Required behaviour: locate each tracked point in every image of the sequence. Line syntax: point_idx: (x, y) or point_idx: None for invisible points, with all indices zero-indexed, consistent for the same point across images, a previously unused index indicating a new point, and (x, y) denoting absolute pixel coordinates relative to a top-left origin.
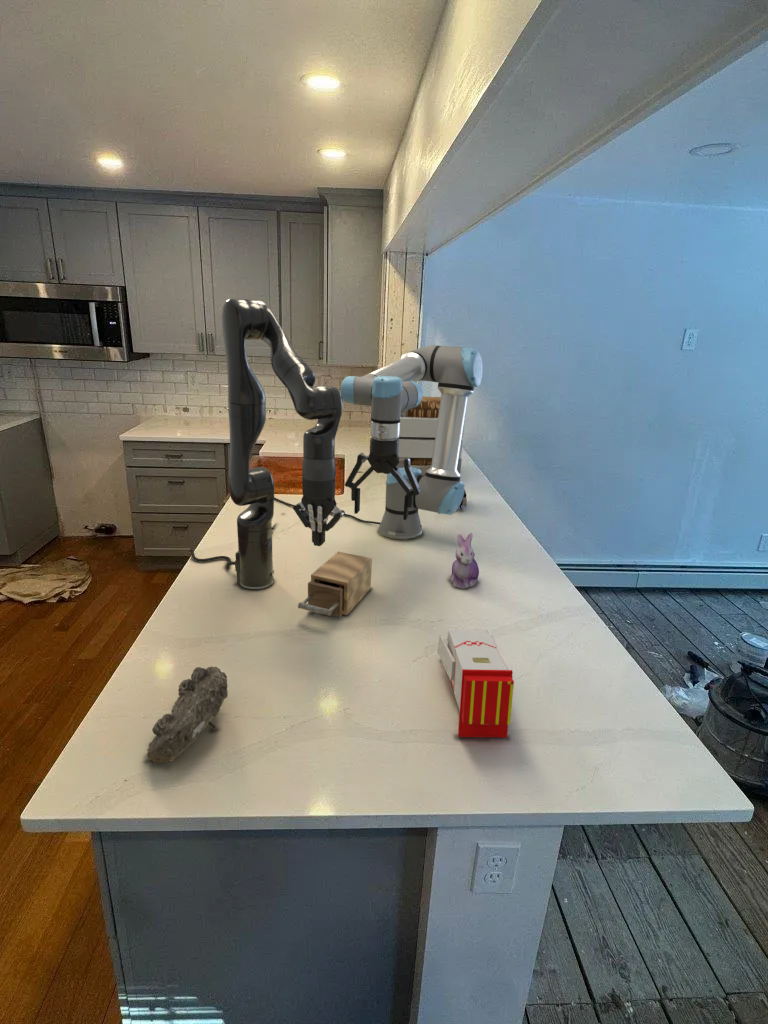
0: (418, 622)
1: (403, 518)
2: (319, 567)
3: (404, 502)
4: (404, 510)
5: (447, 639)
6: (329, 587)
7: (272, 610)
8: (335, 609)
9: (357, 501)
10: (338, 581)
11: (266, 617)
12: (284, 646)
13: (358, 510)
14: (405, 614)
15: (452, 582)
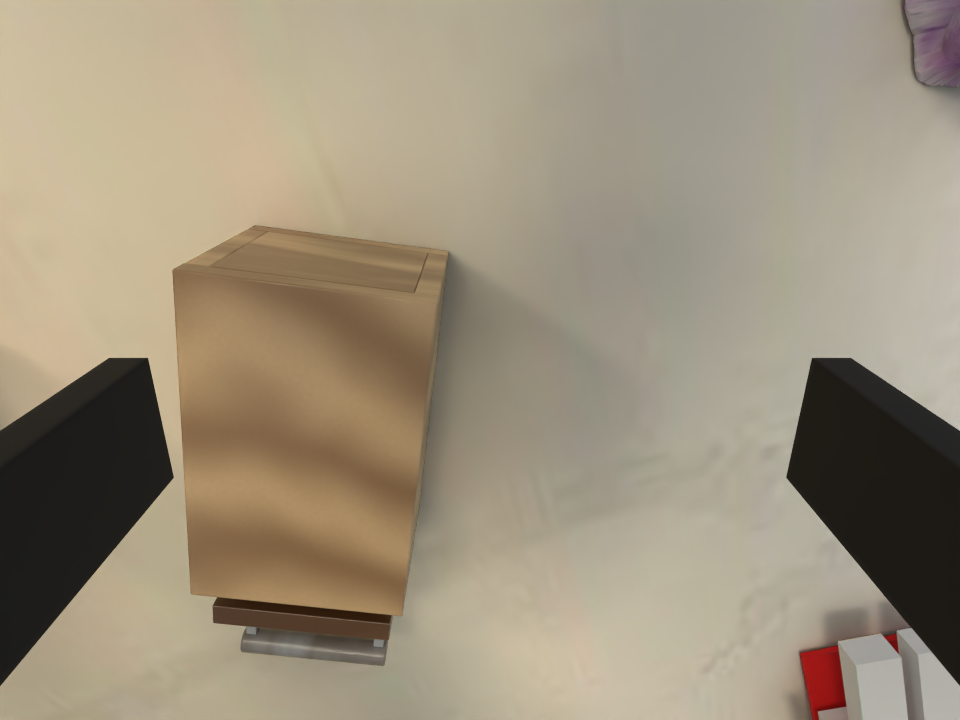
0: (712, 471)
1: (794, 486)
2: (186, 513)
3: (948, 670)
4: (865, 562)
5: (839, 645)
6: (328, 632)
7: (131, 543)
8: None
9: (70, 591)
10: (352, 608)
11: (142, 587)
12: (297, 700)
13: (148, 426)
14: (653, 430)
15: (912, 28)
